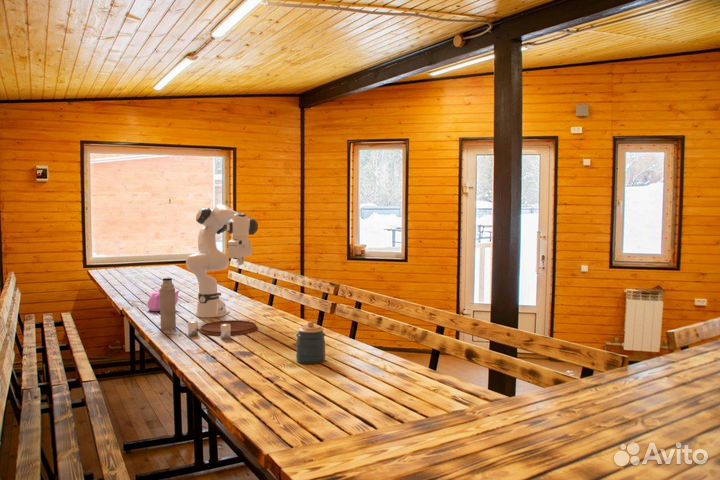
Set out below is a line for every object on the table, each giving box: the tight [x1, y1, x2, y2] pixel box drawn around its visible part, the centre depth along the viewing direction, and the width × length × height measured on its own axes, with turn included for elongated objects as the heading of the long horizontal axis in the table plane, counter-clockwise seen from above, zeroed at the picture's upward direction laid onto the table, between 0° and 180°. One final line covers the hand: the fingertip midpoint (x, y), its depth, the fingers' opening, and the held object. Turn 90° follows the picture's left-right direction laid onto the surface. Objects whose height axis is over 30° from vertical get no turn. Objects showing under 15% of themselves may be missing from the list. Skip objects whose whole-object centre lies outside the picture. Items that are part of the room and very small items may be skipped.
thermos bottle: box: [159, 277, 177, 330], centre depth 312 cm, size 8×8×28 cm
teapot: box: [146, 288, 181, 312], centre depth 366 cm, size 22×22×14 cm
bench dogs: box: [187, 320, 232, 340], centre depth 292 cm, size 5×25×7 cm, turn 70°
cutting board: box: [198, 319, 259, 337], centre depth 309 cm, size 32×32×2 cm
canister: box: [295, 321, 327, 365], centre depth 246 cm, size 13×13×18 cm
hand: (241, 264), depth 327 cm, fingers closed
